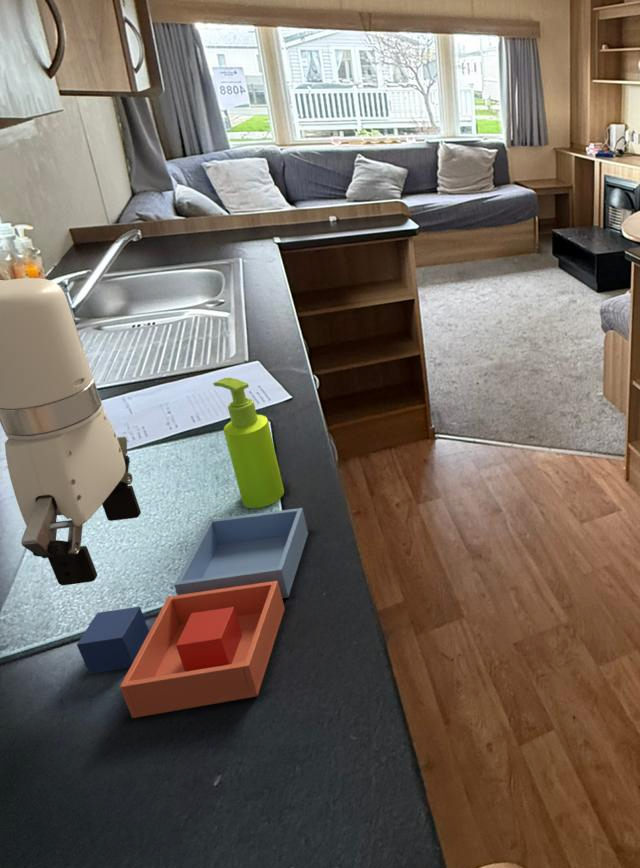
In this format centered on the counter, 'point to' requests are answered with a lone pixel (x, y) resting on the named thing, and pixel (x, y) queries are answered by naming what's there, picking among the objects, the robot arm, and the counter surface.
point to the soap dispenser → (251, 449)
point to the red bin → (176, 689)
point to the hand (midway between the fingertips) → (103, 547)
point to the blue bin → (246, 552)
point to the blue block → (113, 639)
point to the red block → (209, 639)
